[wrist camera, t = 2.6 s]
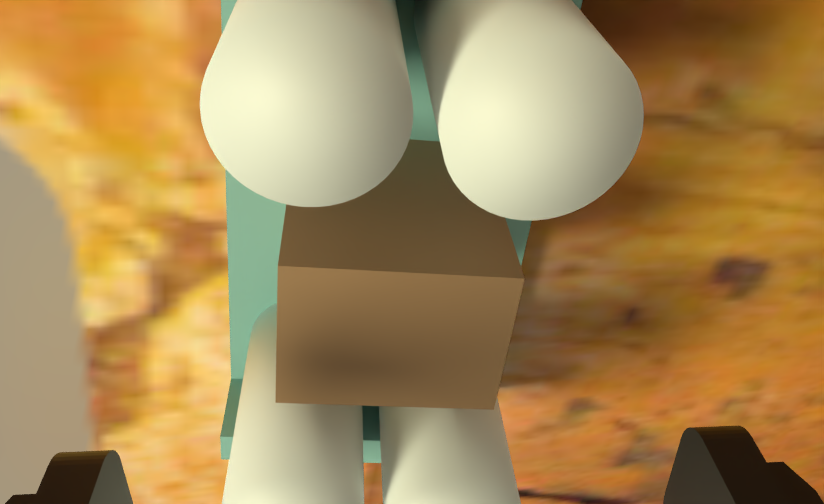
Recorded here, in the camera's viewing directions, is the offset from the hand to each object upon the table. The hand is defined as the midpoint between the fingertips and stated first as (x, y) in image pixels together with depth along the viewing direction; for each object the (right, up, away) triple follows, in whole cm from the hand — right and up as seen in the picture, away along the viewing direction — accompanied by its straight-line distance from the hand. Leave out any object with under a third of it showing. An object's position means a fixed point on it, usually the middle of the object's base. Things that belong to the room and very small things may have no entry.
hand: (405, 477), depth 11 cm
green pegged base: (-1, +5, +7) cm, 9 cm away
